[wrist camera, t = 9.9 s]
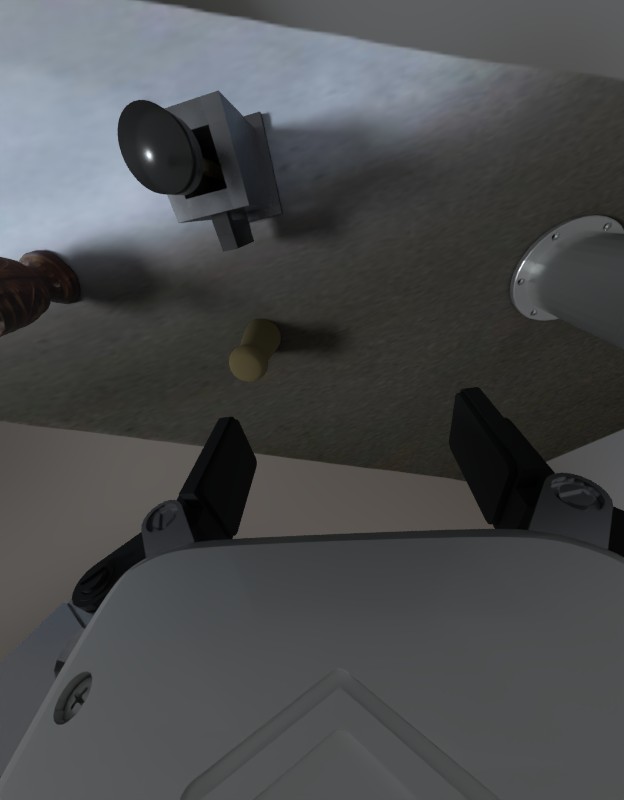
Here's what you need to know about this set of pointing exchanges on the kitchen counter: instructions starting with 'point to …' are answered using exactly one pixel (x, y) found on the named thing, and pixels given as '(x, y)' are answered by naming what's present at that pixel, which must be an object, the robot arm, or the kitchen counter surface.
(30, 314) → the mortar and pestle
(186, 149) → the plunger
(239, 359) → the cork
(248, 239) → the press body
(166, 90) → the kitchen counter surface
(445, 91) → the kitchen counter surface
